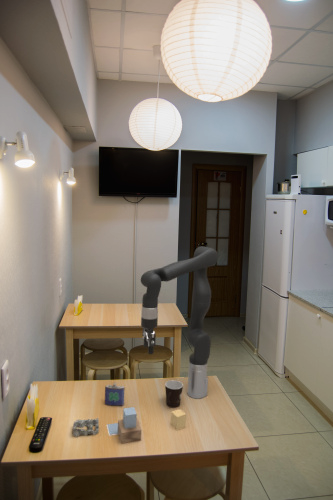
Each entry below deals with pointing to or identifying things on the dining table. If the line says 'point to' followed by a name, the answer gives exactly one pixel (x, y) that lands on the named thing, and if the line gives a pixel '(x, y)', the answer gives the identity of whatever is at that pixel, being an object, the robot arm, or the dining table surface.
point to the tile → (112, 429)
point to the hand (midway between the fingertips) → (148, 350)
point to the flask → (114, 395)
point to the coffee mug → (173, 393)
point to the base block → (129, 432)
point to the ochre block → (178, 419)
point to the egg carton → (89, 425)
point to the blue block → (129, 417)
